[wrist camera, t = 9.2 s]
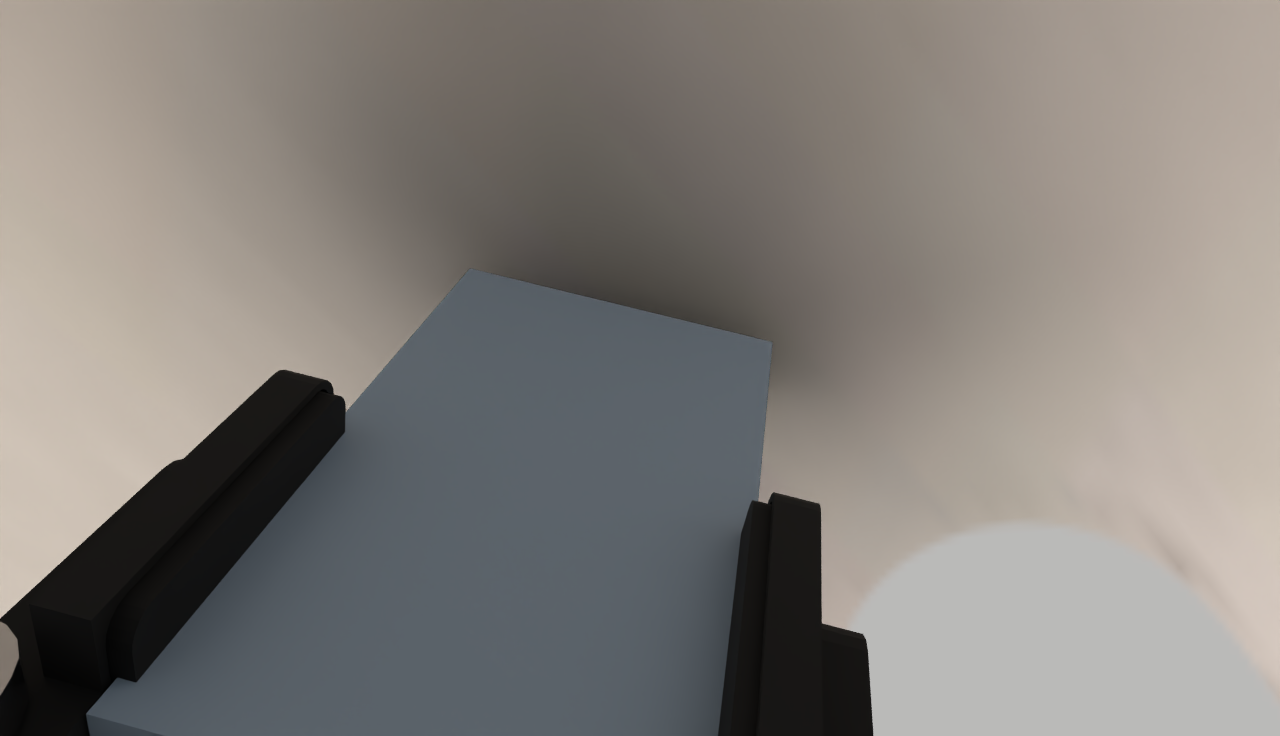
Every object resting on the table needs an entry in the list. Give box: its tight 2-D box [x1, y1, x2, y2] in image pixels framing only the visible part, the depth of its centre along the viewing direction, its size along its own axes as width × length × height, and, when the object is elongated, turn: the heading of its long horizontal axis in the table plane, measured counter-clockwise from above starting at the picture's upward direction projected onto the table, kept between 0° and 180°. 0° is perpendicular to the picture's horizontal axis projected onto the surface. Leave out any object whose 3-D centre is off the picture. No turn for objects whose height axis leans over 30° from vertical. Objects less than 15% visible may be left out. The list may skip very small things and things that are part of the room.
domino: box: [86, 268, 773, 736], centre depth 11 cm, size 2×5×9 cm, turn 79°
